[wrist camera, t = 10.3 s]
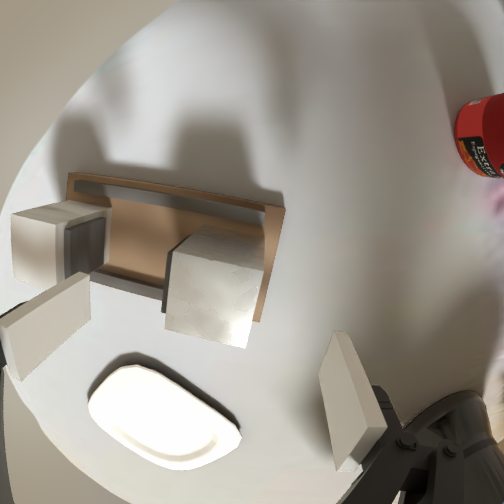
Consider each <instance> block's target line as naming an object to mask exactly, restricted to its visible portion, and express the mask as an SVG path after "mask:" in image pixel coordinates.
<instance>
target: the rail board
mask: <svg viewBox="0 0 504 504" xmlns="http://www.w3.org/2000/svg"><path fill="white" fill-rule="evenodd" d="M285 210H286V209H285V208H284V207H280V206H275V205H270V204H266V203H261V202H256V201H251V200H246V199H241V198H236V197H231V196H225V195H220V194H215V193H209V192H204V191H198V190H192V189H187V188H181V187H175V186H169V185H162V184H156V183H150V182H143V181H137V180H130V179H123V178H116V177H108V176H101V175H93V174H85V173H76V172H75V173H68V182H67V193H66V201H62V202H58V203H53V204H49V205H45V206H41V207H36V208H32V209H28V210H24V211H21V212H17V213H13V214H11V246H12V261H13V273H14V278H16V279H18V280H21V281H23V282H25V283H28V284H30V285H33V286H35V287H38V288H40V289H43V290H45V291H46V290H48V289H50V288H51V287H53V286H55V285H56V284H58V283H60V282H62V281H63V280H65V279H67V278H69V277H70V276H72V275H74V274H76V273H78V272H82V273H85V274H88V275H90V281H92V282H96V283H99V284H102V285H106V286H109V287H113V288H116V289H120V290H123V291H127V292H131V293H134V294H138V295H142V296H146V297H149V298H153V299H157V300H161V301H162V298H163V288H164V278H165V269H166V261H167V253H168V252H169V251H170V250H171V249H172V248H174V247H175V246H176V245H177V244H178V243H179V242H181V241H182V240H183V239H184V238H185V237H187V236H188V235H192V234H193V233H195V232H196V231H197V230H198V229H199V228H200V227H202V226H203V225H207V226H212V227H216V228H221V229H226V230H230V231H235V232H240V233H244V234H249V235H253V236H258V237H263V238H265V256H264V273H263V278H262V282H261V286H260V290H259V294H258V298H257V302H256V307H255V311H254V315H253V319H252V321H255V322H260V318H261V314H262V310H263V306H264V302H265V297H266V293H267V289H268V285H269V281H270V276H271V272H272V268H273V263H274V259H275V255H276V250H277V246H278V242H279V237H280V233H281V228H282V224H283V219H284V215H285Z"/></svg>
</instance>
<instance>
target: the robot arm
mask: <svg viewBox="0 0 504 504" xmlns="http://www.w3.org/2000/svg"><path fill="white" fill-rule="evenodd" d="M90 319H91V310H90V275H88V274H85V273H82V272H78V273H76V274H74V275H72V276H70V277H69V278H67V279H65V280H63V281H62V282H60V283H58V284H56V285H55V286H53V287H51V288H50V289H48V290H46V291H44V292H43V293H41V294H39V295H38V296H36V297H34V298H33V299H31V300H29V301H27V302H23V303H20V304H18V305H17V306H15V307H13V309H10V310H9V311H8V312H5V313H4V314H2V315H1V316H0V504H14V501H13V497H12V493H11V487H10V482H9V476H8V469H7V461H6V453H5V442H4V424H3V388H4V371H3V367H4V366H5V365H6V364H7V367H8V370H9V373H10V375H11V376H13V377H14V378H16V379H17V380H19V381H23V380H24V379H25V378H26V377H27V376H28V375H29V374H30V373H31V372H32V371H33V370H34V369H35V368H36V367H37V366H38V365H40V364H41V363H42V362H43V361H44V360H45V359H46V358H47V357H48V356H49V355H50V354H52V353H53V352H54V351H55V350H56V349H57V348H58V347H59V346H60V345H62V344H63V343H64V342H65V341H66V340H67V339H68V338H69V337H71V336H72V335H73V334H74V333H75V332H76V331H77V330H78V329H80V328H81V327H82V326H83V325H84V324H85V323H87V322H88V321H89V320H90ZM318 377H319V381H320V386H321V391H322V396H323V401H324V406H325V412H326V417H327V422H328V427H329V433H330V438H331V444H332V450H333V455H334V461H335V467H336V472H354V471H355V470H356V469H357V468H358V466H359V465H360V464H361V465H362V469H363V472H362V473H361V474H360V475H359V476H358V477H357V479H356V480H355V481H354V482H353V483H352V485H351V487H350V488H349V489H348V490H347V492H346V493H345V494H344V495H343V496H342V498H341V499H340V500H339V501H338V502H337V503H336V504H392V502H393V501H394V499H395V497H396V495H397V494H398V492H399V491H401V493H400V497H399V501H398V504H504V454H503V452H502V450H501V449H500V447H499V446H498V444H497V442H496V441H495V439H494V438H493V436H492V432H491V427H490V422H489V418H488V414H487V411H486V405H485V403H484V401H483V400H482V399H481V397H480V396H479V395H478V393H476V392H474V391H462V392H458V393H455V394H453V395H450V396H448V397H446V398H444V399H442V400H440V401H439V402H437V403H435V404H434V405H432V406H431V407H429V408H428V409H427V410H425V411H424V412H423V413H421V414H420V415H419V416H418V417H417V418H415V419H414V420H413V421H412V422H411V423H410V424H409V425H408V426H407V428H406V429H405V430H404V431H403V429H402V426H401V424H400V422H399V420H398V417H397V415H396V413H395V411H394V410H393V406H392V404H391V403H390V400H389V398H388V395H387V393H386V392H385V391H384V390H383V389H382V388H381V387H380V386H371V385H370V382H369V380H368V378H367V375H366V373H365V371H364V368H363V366H362V364H361V361H360V359H359V357H358V355H357V352H356V350H355V348H354V346H353V343H352V341H351V339H350V337H349V334H348V333H344V332H337V331H334V333H333V335H332V338H331V341H330V343H329V346H328V349H327V352H326V354H325V357H324V359H323V362H322V364H321V367H320V370H319V372H318Z"/></svg>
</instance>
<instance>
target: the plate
mask: <svg viewBox="0 0 504 504" xmlns="http://www.w3.org/2000/svg"><path fill="white" fill-rule="evenodd" d="M88 408H89V414H90V415H91V416H92V418H93V419H94V420H95V421H96V423H97V424H98V425H99V426H100V427H101V428H102V429H104V430H105V431H106V432H107V433H108V434H110V435H111V436H112V437H113V438H115V439H116V440H118V441H119V442H120V443H122V444H123V445H125V446H126V447H128V448H129V449H131V450H133V451H134V452H136V453H137V454H139V455H141V456H142V457H144V458H146V459H148V460H150V461H152V462H154V463H156V464H158V465H160V466H163V467H166V468H169V469H173V470H189V469H193V468H197V467H200V466H202V465H205V464H207V463H209V462H212V461H214V460H216V459H218V458H220V457H222V456H224V455H226V454H227V453H229V452H230V451H232V450H233V449H235V448H236V447H237V446H238V444H239V442H240V440H241V438H242V435H241V433H240V432H239V430H238V428H237V427H236V425H235V424H234V423H233V422H231V421H230V420H229V419H227V418H226V417H225V416H224V415H222V414H221V413H220V412H219V411H217V410H216V409H214V408H213V407H211V406H210V405H208V404H207V403H205V402H204V401H203V400H201V399H200V398H198V397H197V396H195V395H194V394H192V393H191V392H189V391H188V390H187V389H185V388H184V387H182V386H181V385H179V384H178V383H176V382H175V381H173V380H171V379H170V378H168V377H167V376H165V375H163V374H162V373H160V372H159V371H157V370H154V369H151V368H148V367H145V366H142V365H140V364H133V365H126V366H121V367H119V368H118V369H117V370H115V371H114V372H112V373H111V374H110V375H109V376H108V377H107V378H106V379H105V380H104V381H103V382H102V383H101V384H100V385H99V387H98V388H97V389H96V390H95V391H94V393H93V394H92V396H91V398H90V400H89V402H88Z"/></svg>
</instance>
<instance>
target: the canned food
mask: <svg viewBox="0 0 504 504" xmlns="http://www.w3.org/2000/svg"><path fill="white" fill-rule="evenodd" d="M455 140H456V145H457V148H458V152H459V154H460V156H461V158H462V160H463V161H464V163H465V164H466V165H467V166H468V167H469V168H470V169H471V170H472V171H474V172H475V173H477V174H479V175H481V176H485V177H492V178H500V179H504V93H502V94H497V95H493V96H489V97H485V98H481V99H478V100H474V101H470V102H469V103H467V104H466V105H465V106H464V107H463V108H462V109H461V110H460V111H459V113H458V115H457V118H456V122H455Z"/></svg>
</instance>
